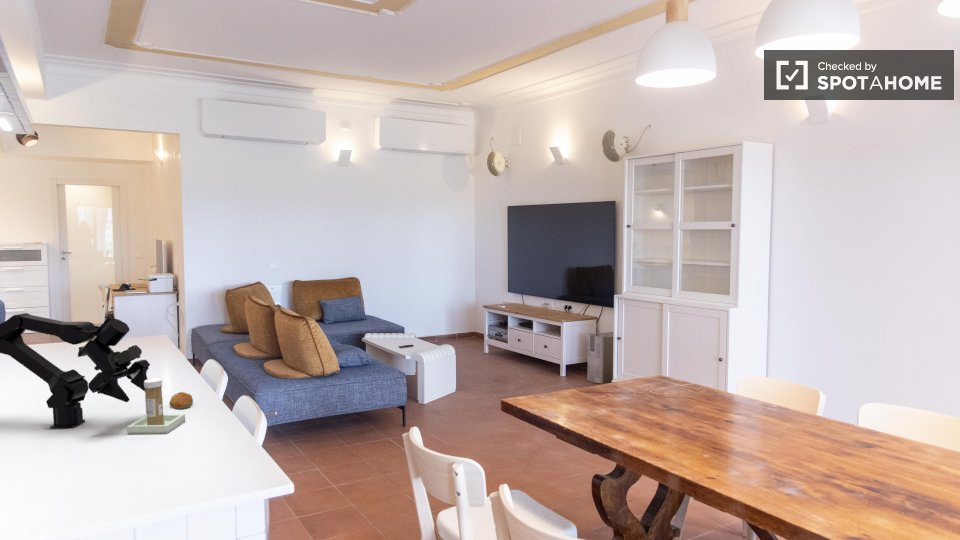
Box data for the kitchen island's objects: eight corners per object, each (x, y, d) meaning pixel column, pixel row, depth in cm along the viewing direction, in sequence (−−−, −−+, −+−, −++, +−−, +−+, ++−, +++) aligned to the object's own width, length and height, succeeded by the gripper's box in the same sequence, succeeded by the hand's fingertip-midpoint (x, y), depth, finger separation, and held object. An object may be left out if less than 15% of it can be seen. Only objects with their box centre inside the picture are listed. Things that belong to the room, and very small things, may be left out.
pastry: (195, 408, 205) (194, 396, 205) (172, 412, 201) (171, 399, 201) (191, 401, 213) (190, 390, 213) (168, 405, 209) (167, 393, 209)
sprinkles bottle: (167, 425, 185) (164, 378, 184) (151, 429, 181) (148, 382, 180) (159, 422, 187) (156, 377, 186) (143, 426, 184) (140, 380, 183)
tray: (127, 434, 179) (126, 426, 179) (147, 422, 190) (147, 414, 190) (167, 433, 179) (166, 426, 179) (185, 421, 190) (184, 414, 190)
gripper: (95, 344, 175) (133, 386, 174) (143, 332, 194) (177, 370, 193) (71, 371, 177) (109, 413, 176) (120, 357, 196) (155, 395, 194)
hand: (139, 396), depth 185 cm, fingers open, 9 cm apart
